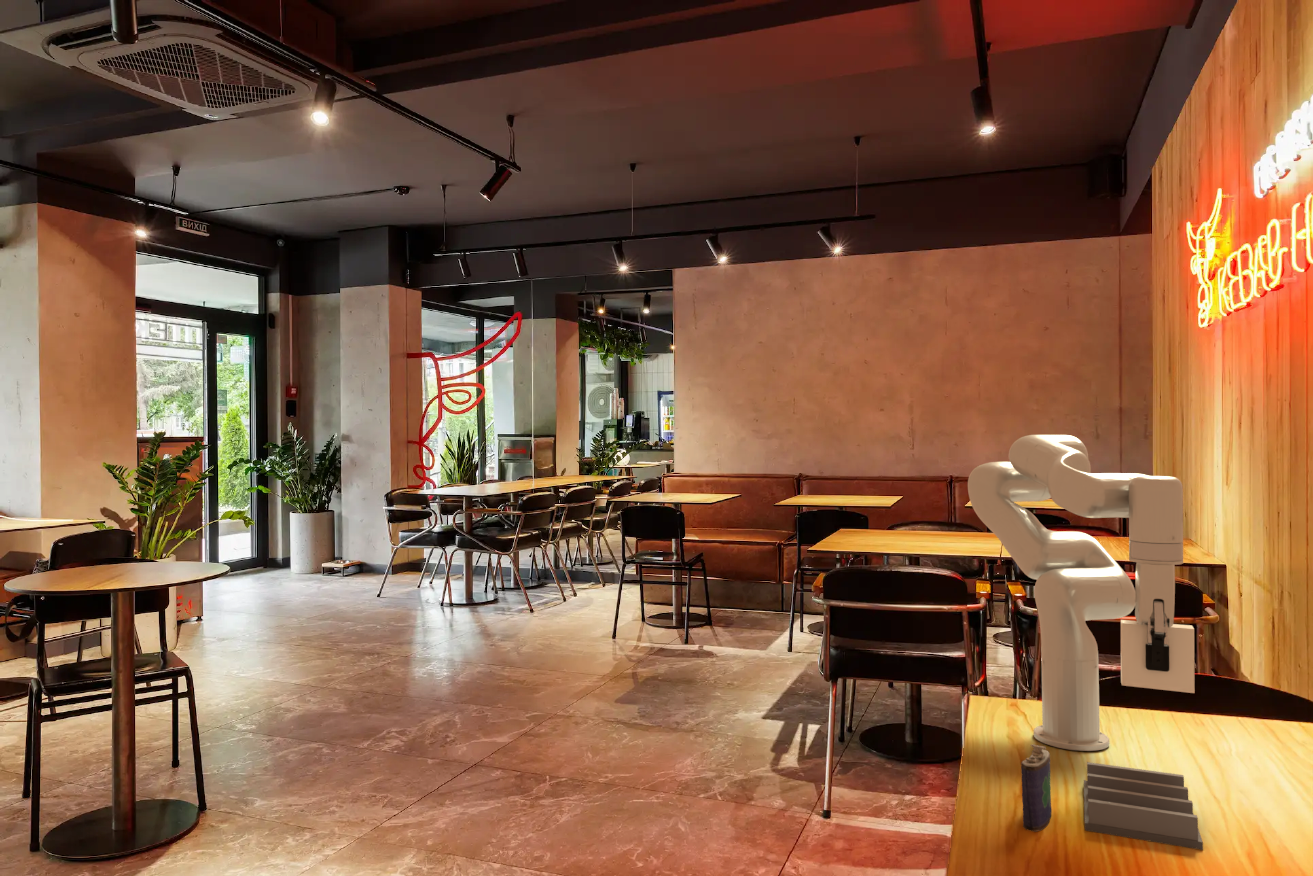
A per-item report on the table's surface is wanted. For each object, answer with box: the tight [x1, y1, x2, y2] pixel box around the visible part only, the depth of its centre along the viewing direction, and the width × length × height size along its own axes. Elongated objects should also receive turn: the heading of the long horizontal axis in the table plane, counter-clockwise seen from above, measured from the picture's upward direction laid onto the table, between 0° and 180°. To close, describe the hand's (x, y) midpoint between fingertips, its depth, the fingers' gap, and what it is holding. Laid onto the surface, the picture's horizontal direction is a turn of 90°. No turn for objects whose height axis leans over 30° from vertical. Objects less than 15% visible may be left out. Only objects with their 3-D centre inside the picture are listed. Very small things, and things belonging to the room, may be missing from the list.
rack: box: [1083, 761, 1204, 851], centre depth 125 cm, size 18×14×4 cm
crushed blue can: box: [1020, 743, 1052, 832], centre depth 123 cm, size 9×3×11 cm, turn 144°
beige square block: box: [1120, 619, 1196, 694], centre depth 137 cm, size 3×10×10 cm, turn 64°
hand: (1156, 666), depth 137 cm, fingers closed on beige square block, 3 cm apart
